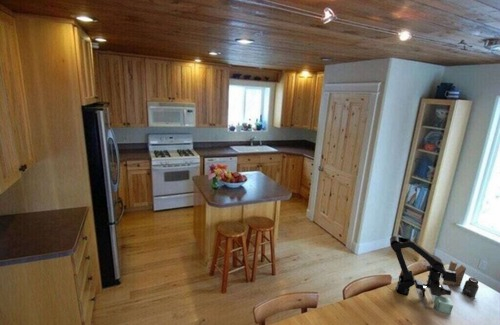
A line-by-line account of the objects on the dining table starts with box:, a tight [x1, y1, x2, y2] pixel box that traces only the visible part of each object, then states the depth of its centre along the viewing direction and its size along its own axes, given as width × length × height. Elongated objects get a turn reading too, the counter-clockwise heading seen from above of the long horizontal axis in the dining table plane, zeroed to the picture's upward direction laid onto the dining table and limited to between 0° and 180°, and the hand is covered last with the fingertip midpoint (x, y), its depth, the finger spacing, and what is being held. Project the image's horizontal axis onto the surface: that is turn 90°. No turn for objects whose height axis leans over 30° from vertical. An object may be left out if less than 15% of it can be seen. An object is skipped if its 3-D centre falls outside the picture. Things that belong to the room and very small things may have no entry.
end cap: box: [434, 295, 454, 315], centre depth 160 cm, size 7×6×6 cm
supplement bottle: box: [461, 276, 480, 299], centre depth 173 cm, size 7×7×12 cm
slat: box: [421, 288, 434, 309], centre depth 167 cm, size 4×14×4 cm, turn 161°
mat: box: [413, 284, 444, 311], centre depth 169 cm, size 15×21×1 cm
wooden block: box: [442, 260, 467, 286], centre depth 182 cm, size 4×11×18 cm, turn 97°
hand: (429, 298), depth 167 cm, fingers open, 6 cm apart
